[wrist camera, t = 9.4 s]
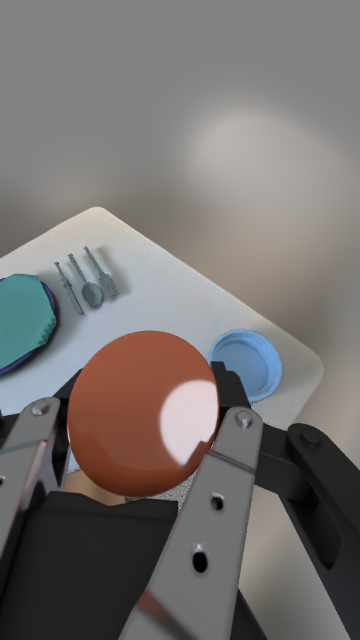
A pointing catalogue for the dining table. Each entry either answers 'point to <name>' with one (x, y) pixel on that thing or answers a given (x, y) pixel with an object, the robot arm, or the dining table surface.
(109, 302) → the dining table surface
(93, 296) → the cutlery set
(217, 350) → the bowl
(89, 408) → the terracotta cylindrical canister
